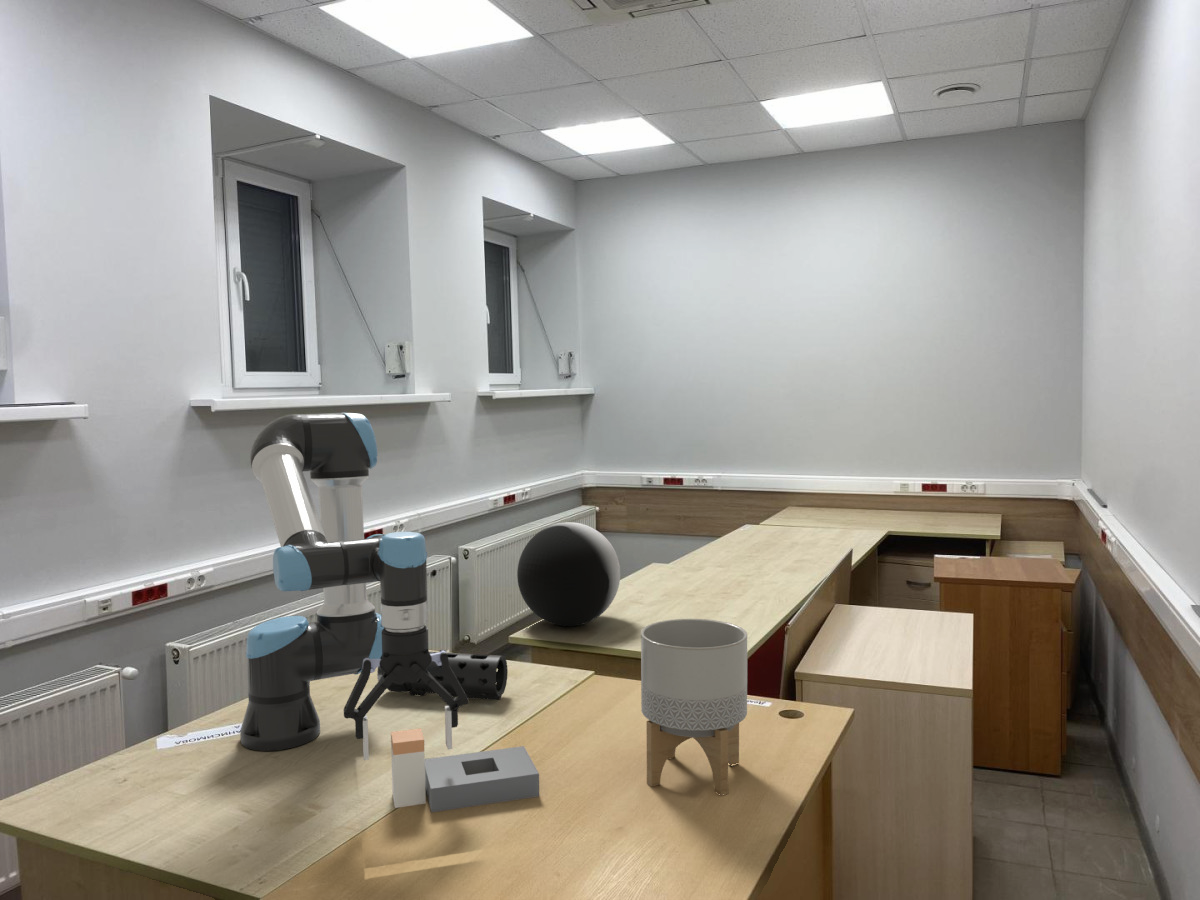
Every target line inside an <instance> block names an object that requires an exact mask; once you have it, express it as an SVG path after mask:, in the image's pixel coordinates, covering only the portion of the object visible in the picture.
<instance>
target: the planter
mask: <svg viewBox="0 0 1200 900" xmlns="http://www.w3.org/2000/svg"><path fill="white" fill-rule="evenodd" d="M640 657H641V658H640V660H641V661H640V668H641V670H640V680H641V682H640V683H641V684H640V685H641V689H640V690H641V693H640V694H641V695H640V696H641V698H640V699H641V702H640V703H641V705H640V706H641V710H640V711H641V713H642V715H643V716H644V717H645V718H646V719H647V720H646V784H647V785H648V786H650V788H651V787H656V786H659V785H661V779H662V778H661V777H662V772H663V769H664V766H665V764H666V762H667V760H669V758H671V759H674V758H673V757H675V758H676V748H678V746H680V745H681V744H682V743H684V742H686V741H687V740H690V739H692V738H693V739H694V740H695V741H696V742H697V743H698V744H699V745H700V747H701V749H702V750H703V752H704V754H705V756H706V758H707V760H708V762H709V763H708V764H709V765H710V769H711V773H712V777H713V779H712V780H713V783H714V784H713V785H714V792H715V793H716V792H717V793H718V795H719V794H720V795H722V796H724V795H723V794H726V795H728V794H729V765H728V763H729V764H730V765H732V764H736V763H739V764H740V723H741V722H742V721H744V720H745V719H746V717H747V714H748V633H747V631H746V630H745V629H744V628H743V627H741V626H739V625H736V624H733V623H729V622H727V621H726V622H725V621H722V620H714V619H705V618H676V619H667V620H661V621H656V622H653V623H651V624H647V625H646V626H644V627H643V628H642V629H641V630H640ZM717 793H716V794H717ZM727 793H728V794H727ZM720 795H719V796H720Z"/></svg>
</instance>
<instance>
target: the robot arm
mask: <svg viewBox="0 0 1200 900" xmlns="http://www.w3.org/2000/svg"><path fill="white" fill-rule="evenodd" d="M249 454H250V455H249V461H250V467H251V470H252V473H253V476H254V477H255V478H256V480H257V481H259V483H261V485H262V487H263V488H262V489H263V491H264V492H263V493H264V495H265V498H266V499H265V500H266V501H267V505H268V508H269V511H270V515H271V518H272V523H273V525H274V528H275V532H276V535H277V539H278V541H279V544H280V546H279V547H276V549H275V550H274V552H273V555H272V571H273V572H272V573H273V576H274V584H275V586H276V588H277V589H278V590H280V591H282V592H296V591H297V592H306V591H310V590H317V589H322V590H323V604H322V605H321V606H320V607H319V608H318V610H316V611H317V612H316V621H313V622H309V620H308V619H307V617H305V616H302V615H293V616H291V615H287V616H286V615H285V616H280V617H277V618H273V619H269V620H266V621H264V622H262V623H260V624H259V623H258V625H256V626H254V627H253V628H252V629H250V630H249V632H248V634H247V636H246V649H245V650H246V651H245V658H246V666H247V667H246V668H247V669H246V670H247V690H248V691H247V693H248V695H247V697H248V702H247V706H246V710H245V714H244V717H243V720H242V723H241V727H240V731H239V732H240V733H239V734H240V735H239V736H240V744H241V746H243V747H244V748H247V749H249V750H253V751H262V752H263V751H264V752H268V751H269V752H271V751H272V752H273V751H281V750H283V751H284V750H288V749H292V748H296V747H299V746H302V745H305V744H308V743H309V742H311V741H312V740H314V739H316V738H317V737H318V736H319V735H320V734H321V733H320V732H321V719H320V716H319V715H318V712H317V709H316V707H315V704H314V702H313V699H312V696H311V691H310V690H311V689H310V688H311V686H310V682H312V681H313V682H314V681H318V680H319V681H320V680H325V679H330V678H331V679H332V678H335V677H336V678H337V677H342V676H349V675H359V676H357V679H356V682H355V684H354V687H352V690H351V692H350V695H349V697H348V699H347V701H346V703H345V706H344V707H343V717H344V718H345V719H352V720H354V724H355V725H354V726H355V738H356V739H357V740H362V752H363V753H362V755H363V760H364V761H368V760H370V759H369V756H370V755H369V754H370V753H369V726H368V725H369V723H368V715H367V714H368V713H369V712H370V710H371V709H372V708H373V707H374V705H375V704H376V703H377V701H379V698H380V697H381V696H382V695H383V694H384V693H385V691H386V690H388V689H387V688H388V687H389V686H390V685H391V683H392V682H394V683H397V684H403V683H405V682H410V683H414V682H416V681H418V680H419V679H420V678H421V679H422V680H423V681H424V682H425V683H426V684H427V685H428V686H429V687H430V688H431V689H432V690H433V691H434V692H435V693H436V695H437V696H438V697H439V698H440V699H441V700H442V701H443V702H444V703H445V704H446V705H444V725H445V727H444V728H445V729H444V730H445V731H444V732H445V733H444V735H445V745H446V749H447V750H452V749H453V730H452V729H453V728H457V727H458V725H459V708H460V707H462V706H466V705H468V704H469V698H467V696H466V694H465V692H464V690H463V689H462V687H461V685H460V683H459V681H458V680H457V678H456V676H455V674H454V673H453V671H452V669H451V667H450V665H449V661H448V655H447V653H448V652H447V651H446V650H445V649H443V648H442V649H440V650H439V651H437V652H438V653H433V654H430V653H429V652H430V651H429V650H430V649H429V628H428V626H426V624H427V623H428V622H429V621H428V620H429V619H428V586H427V585H428V584H427V583H428V579H427V577H428V576H427V559H428V552H427V546H426V539H425V536H424V534H422V533H420V532H413V531H394V532H390V533H385V534H383V533H382V534H381V533H376V534H372V535H370V536H368V537H366V538H365V531H364V528H365V527H364V509H363V508H364V507H363V506H364V505H363V488H362V487H363V484H364V483H365V482H366V481H367V480H368V479H369V477H370V475H369V469H370V470H371V469H373V468H375V467H376V465H377V463H378V458H377V457H378V445H377V440H376V435H375V431H374V429H373V427H372V425H371V422H370V420H369V419H368V418H367V417H366V416H365V415H364V414H362V413H354V412H333V413H331V412H330V413H328V412H327V413H305V414H302V413H301V414H299V413H293V414H292V413H291V414H286V415H283V416H280V417H277V418H275V419H273V420H272V421H270V422H269V423H268V424H267V425H266V426H265V425H264V427H263V428H262V430H261V431H259V433H258V434H257V436H256V437H255V439H254V441H253V443H252V446H251V449H250V453H249ZM303 472H309V473H310V481H311V482H312V483H314V484H315V486H317V488H318V497H319V498H318V501H319V514H318V512H317V509H316V506H315V502H314V500H313V497H312V495H311V492H310V489H309V486H308V484H307V483H308V482H307V481H306V478H305V474H304V473H303ZM377 582H379V585H380V613H378V612H376V609H375V608H376V607H375V605H374V604H373V603H371V601H369V600H368V597H367V594H368V592H367V583H377ZM432 661H434V662H436V664H437V665H438V666H442V668H443V671H444V673H445V674H446V676H447V678H448V680H449V681H450V683H451V685H452V687H453V689H454V690H455V692H456V694H457V696H452V695H451V694H450V693H449V692H448V691H447V690H446V689H445V688H444V687H443V686H442V685H441V684H440V683H439V682H438V681H437V680H436V679H435V678H434V677H433V676H432V675H431V674H430V673H429V672H428V671H427V668H428V667H429V665H430V664H431V662H432ZM379 666H380V668H381V669H382V670H383V671H384V672H385V673H384V674H383V675H382V677H381V678H380V680H379V681H378V680H377V682H376V683H375V685H374V687H373V688H372V689H371V691H370V692H368V694H367V695H366V696H365V698H364V699H363V701H362V702H361V703H360V704H359V705H358V703H359V700H360V698H361V696H362V694H363V691H364V690H365V688H366V685H367V683H368V681H369V679H370V675H371V674H372V673H375V671H376V669H378V667H379ZM357 705H358V707H356V706H357Z"/></svg>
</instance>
